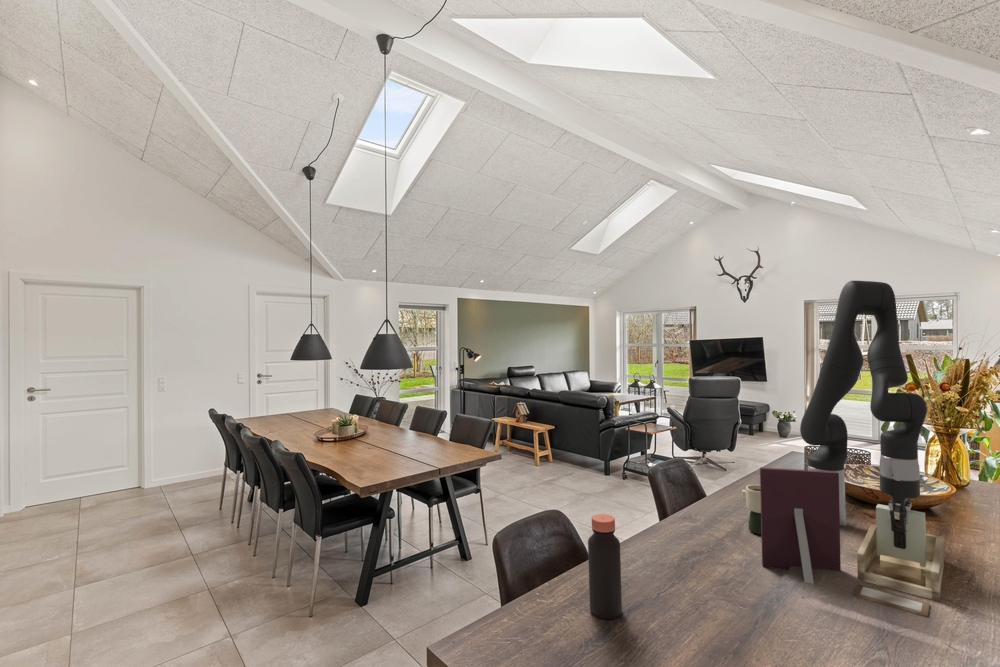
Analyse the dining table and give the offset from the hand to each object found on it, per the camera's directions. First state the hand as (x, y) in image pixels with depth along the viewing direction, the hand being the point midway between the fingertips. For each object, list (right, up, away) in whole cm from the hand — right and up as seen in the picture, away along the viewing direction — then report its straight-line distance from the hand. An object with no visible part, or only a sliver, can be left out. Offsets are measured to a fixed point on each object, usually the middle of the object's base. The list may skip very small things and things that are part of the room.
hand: (900, 544), depth 117 cm
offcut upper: (-7, -3, -8) cm, 11 cm away
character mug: (-21, -7, +24) cm, 33 cm away
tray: (-1, -6, -2) cm, 7 cm away
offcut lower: (-7, -5, -8) cm, 12 cm away
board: (-14, -7, -15) cm, 21 cm away
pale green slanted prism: (0, -3, 0) cm, 3 cm away
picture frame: (-25, -7, -3) cm, 26 cm away
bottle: (-75, -8, -14) cm, 77 cm away
